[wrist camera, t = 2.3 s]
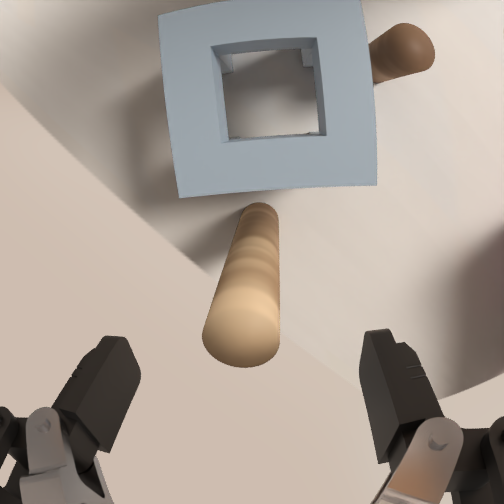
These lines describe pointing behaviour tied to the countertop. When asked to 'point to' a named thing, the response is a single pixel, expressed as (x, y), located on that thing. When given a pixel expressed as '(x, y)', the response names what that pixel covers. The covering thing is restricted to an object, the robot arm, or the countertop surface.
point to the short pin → (400, 53)
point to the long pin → (247, 294)
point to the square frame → (269, 147)
